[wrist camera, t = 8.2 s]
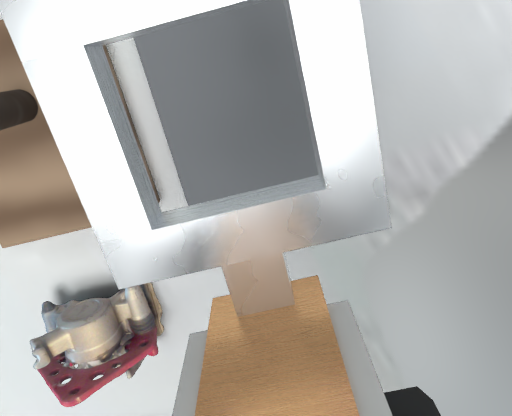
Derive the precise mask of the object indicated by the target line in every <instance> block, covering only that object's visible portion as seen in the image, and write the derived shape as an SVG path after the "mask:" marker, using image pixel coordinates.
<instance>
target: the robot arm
mask: <svg viewBox="0 0 512 416" xmlns="http://www.w3.org/2000/svg"><path fill="white" fill-rule="evenodd" d="M327 308H328V312H329V315H330V318H331V322H332V325H333V328H334V332H335V335H336V339H337V342H338V345H339V349H340V352H341V355H342V359H343V362H344V366H345V369H346V372H347V376H348V379H349V382H350V386H351V389H352V393H353V396H354V399H355V403H356V406H357V409H358V413H359V416H441V415H440V413H439V411H438V409H437V408H436V406H435V404H434V402H433V400H432V399H431V398H429V397H428V396H427V395H426V394H425V393H424V392H423V391H422V390H421V389H419V388H418V387H411V388H406V389H401V390H396V391H391V392H386V393H384V392H383V390H382V387H381V385H380V382H379V379H378V377H377V374H376V372H375V369H374V366H373V364H372V361H371V359H370V356H369V354H368V351H367V348H366V346H365V343H364V341H363V338H362V335H361V333H360V330H359V328H358V325H357V323H356V320H355V317H354V315H353V312H352V310H351V307H350V304H349V302H348V300H346V301H341V302H337V303H332V304H327ZM207 333H208V330H206V331H201V332H197V333H192V334H190V336H189V340H188V345H187V349H186V354H185V359H184V363H183V368H182V372H181V377H180V382H179V386H178V391H177V396H176V400H175V405H174V409H173V414H172V416H195V410H196V403H197V397H198V390H199V384H200V378H201V371H202V365H203V358H204V352H205V345H206V339H207Z"/></svg>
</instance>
